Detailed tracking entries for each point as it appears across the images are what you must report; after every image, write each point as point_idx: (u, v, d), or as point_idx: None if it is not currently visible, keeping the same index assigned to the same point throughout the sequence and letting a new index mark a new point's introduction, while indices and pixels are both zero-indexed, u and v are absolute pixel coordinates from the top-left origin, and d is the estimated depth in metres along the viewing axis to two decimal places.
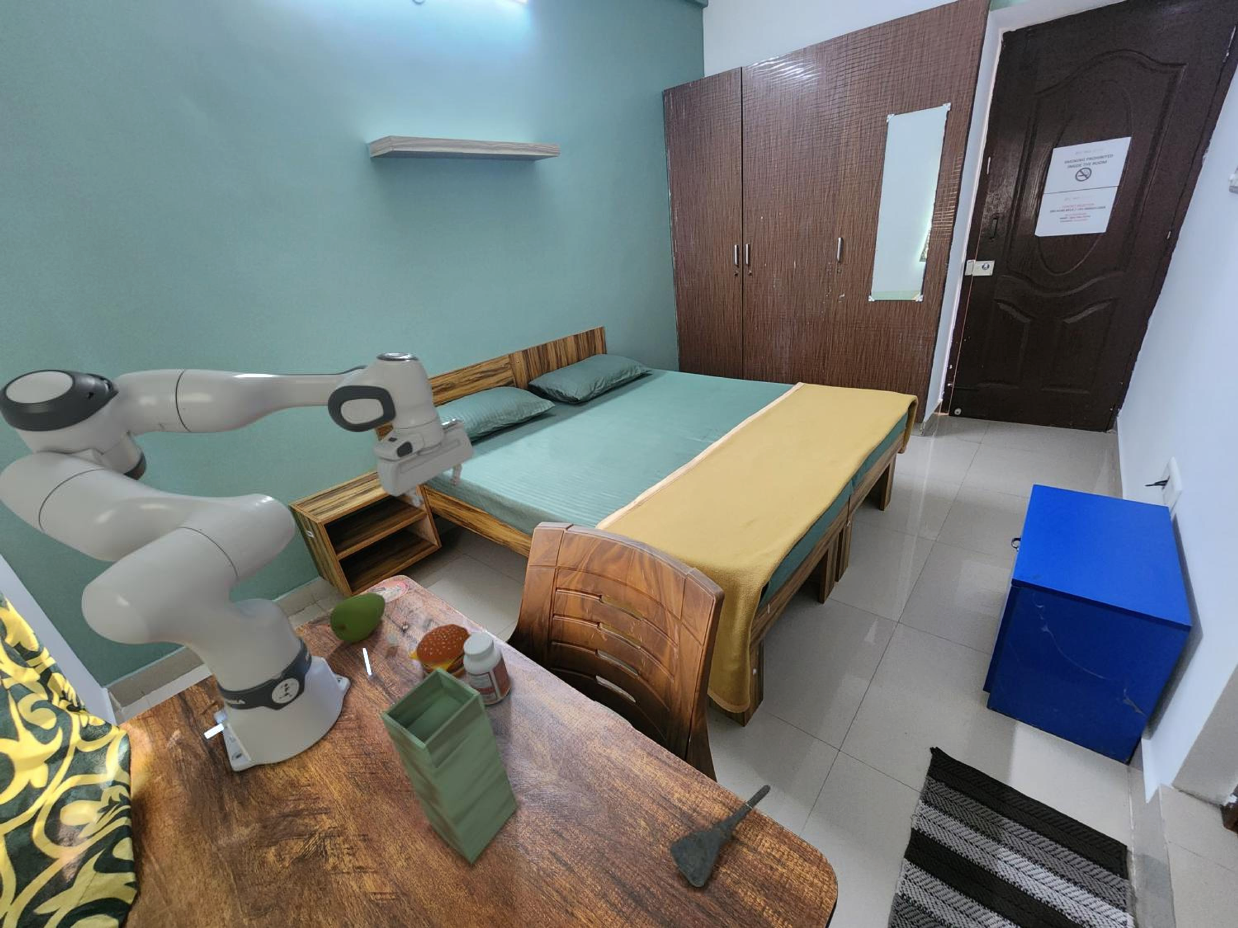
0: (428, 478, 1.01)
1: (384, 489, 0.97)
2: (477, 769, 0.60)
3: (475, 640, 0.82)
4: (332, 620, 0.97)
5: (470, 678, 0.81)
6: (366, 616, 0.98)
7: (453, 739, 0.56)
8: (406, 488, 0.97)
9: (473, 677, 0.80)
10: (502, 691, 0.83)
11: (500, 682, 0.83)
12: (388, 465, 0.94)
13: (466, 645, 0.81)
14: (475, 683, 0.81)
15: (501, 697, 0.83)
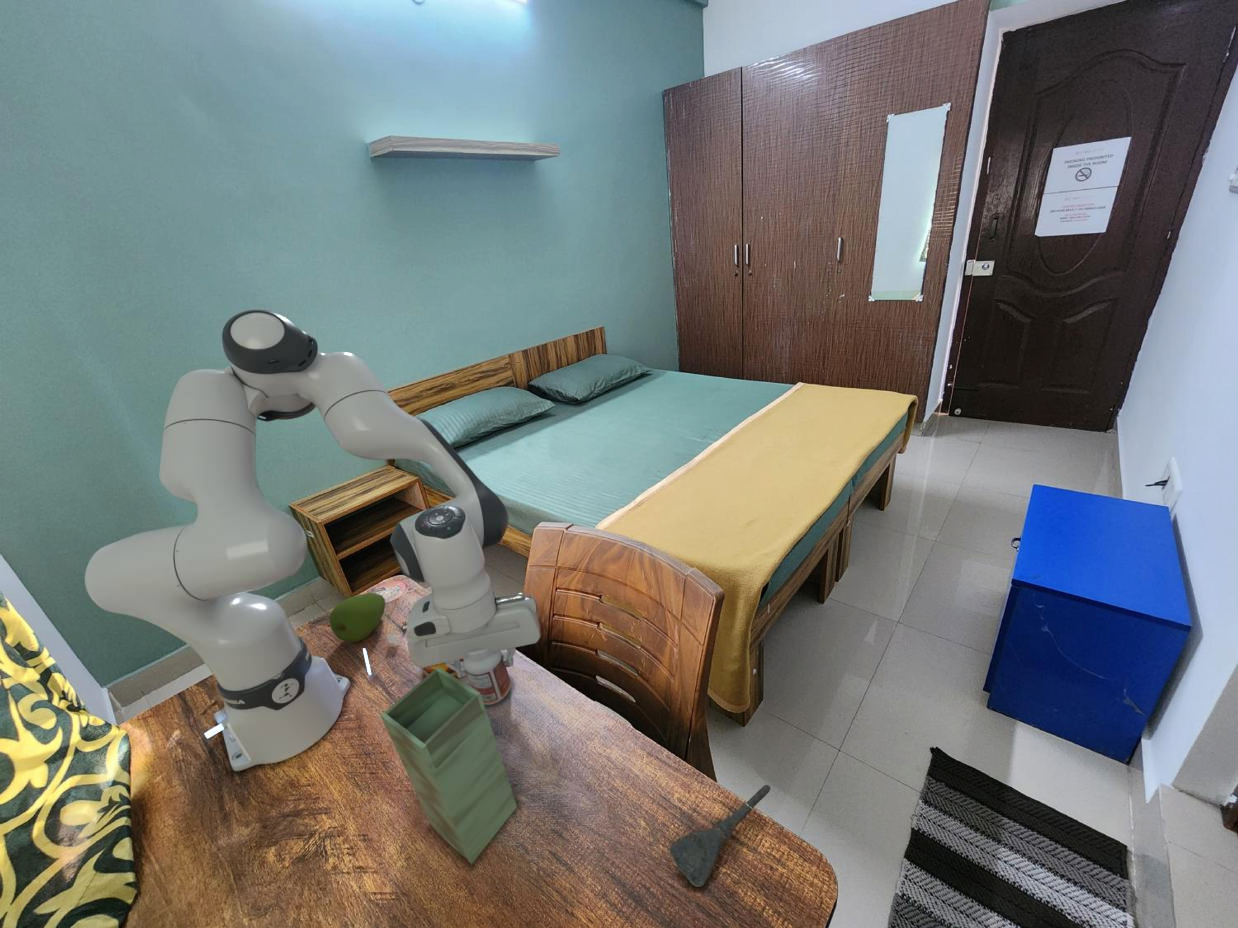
0: (464, 656, 0.80)
1: None
2: (477, 769, 0.60)
3: None
4: (332, 620, 0.97)
5: (470, 679, 0.81)
6: (366, 616, 0.98)
7: (453, 739, 0.56)
8: (431, 662, 0.79)
9: (473, 677, 0.80)
10: (502, 691, 0.83)
11: (500, 683, 0.83)
12: (409, 636, 0.76)
13: None
14: (475, 683, 0.81)
15: (501, 697, 0.83)
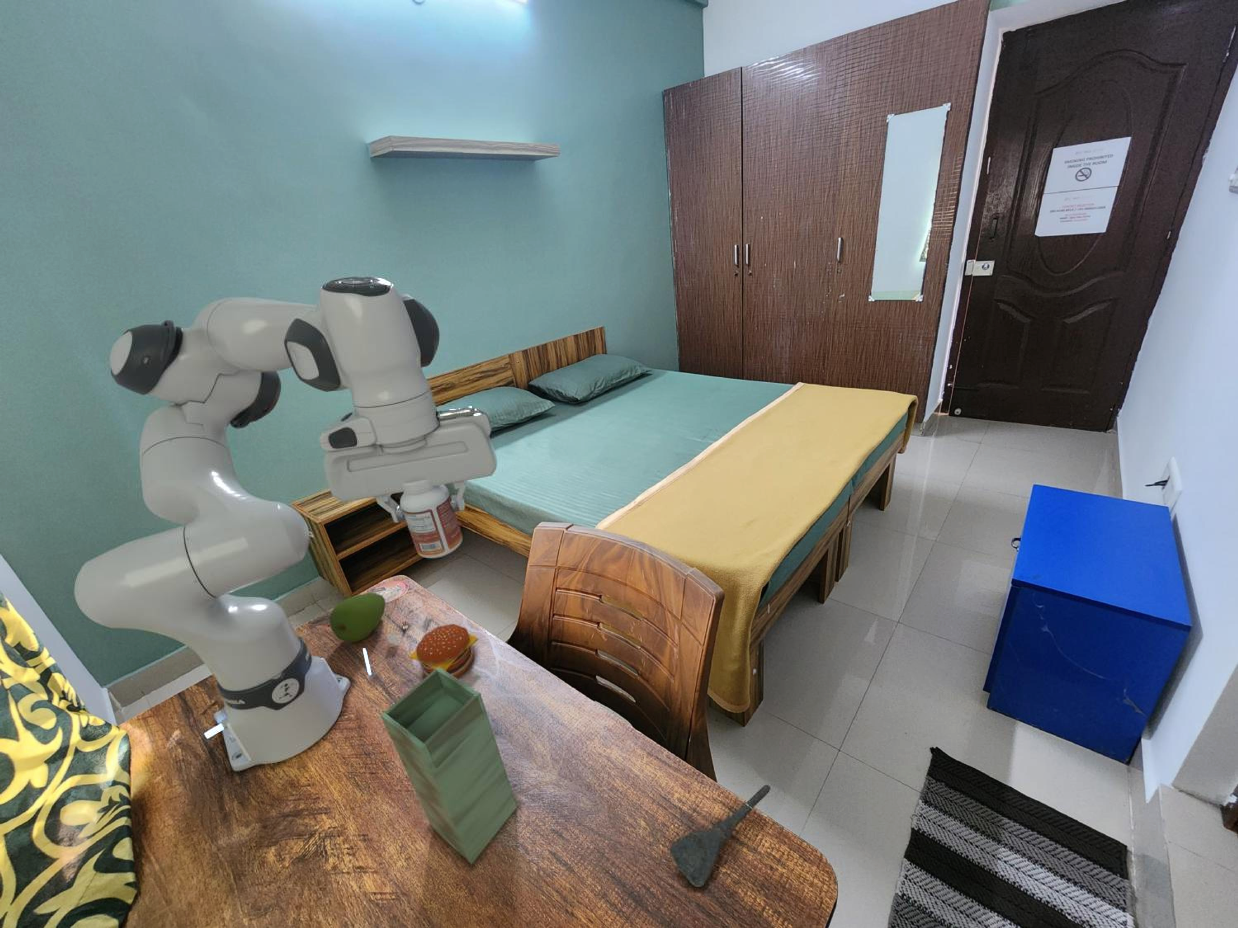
0: (399, 489, 0.63)
1: None
2: (477, 769, 0.60)
3: None
4: (332, 620, 0.97)
5: (408, 521, 0.65)
6: (366, 616, 0.98)
7: (453, 739, 0.56)
8: (357, 495, 0.62)
9: (411, 517, 0.64)
10: (450, 542, 0.67)
11: (447, 529, 0.66)
12: (325, 455, 0.60)
13: None
14: (414, 526, 0.65)
15: (449, 549, 0.67)
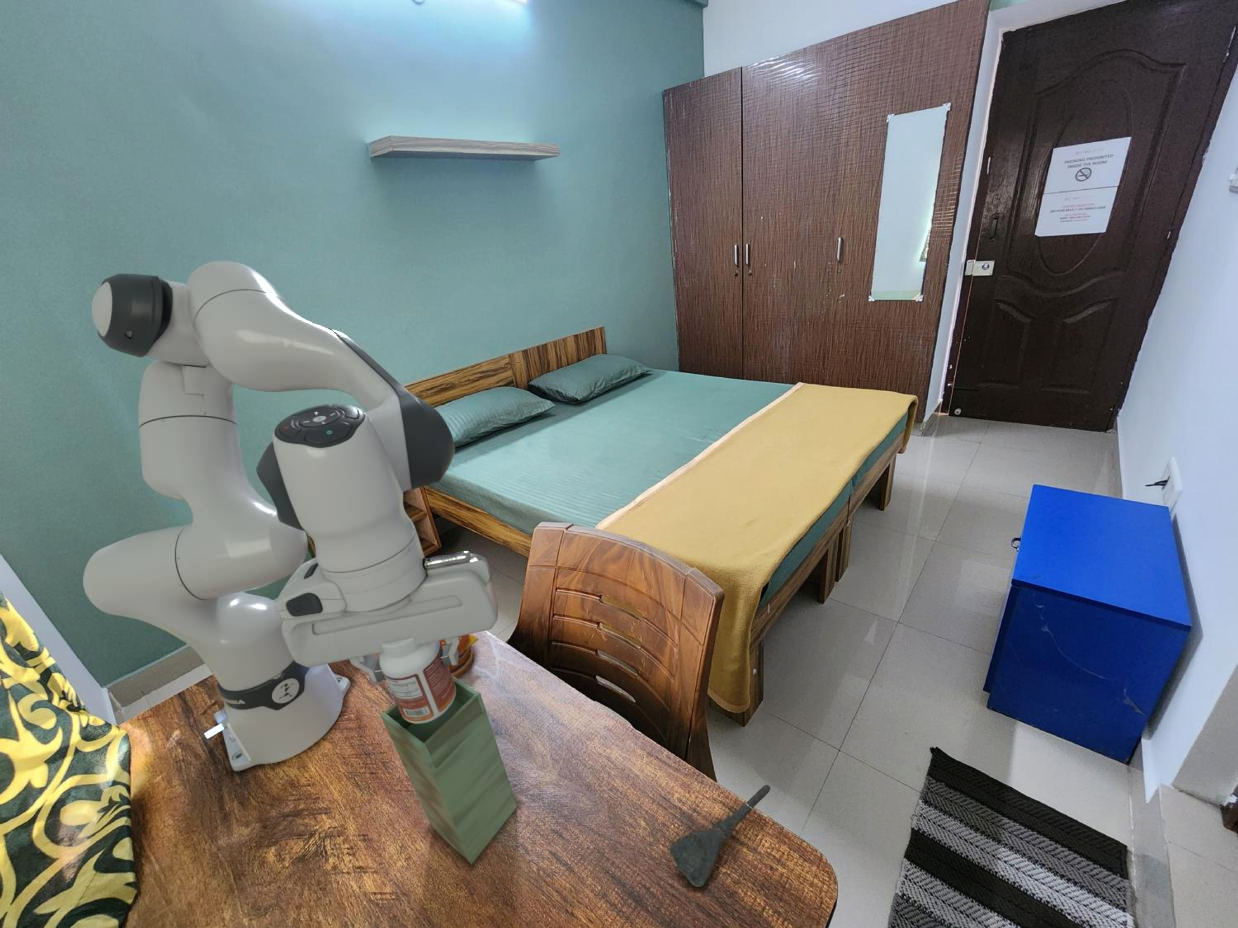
0: (378, 650, 0.51)
1: None
2: (477, 769, 0.60)
3: None
4: None
5: (389, 685, 0.53)
6: None
7: (453, 739, 0.56)
8: (325, 659, 0.51)
9: (392, 682, 0.52)
10: (440, 704, 0.55)
11: (437, 691, 0.54)
12: None
13: None
14: (396, 692, 0.53)
15: (439, 713, 0.55)
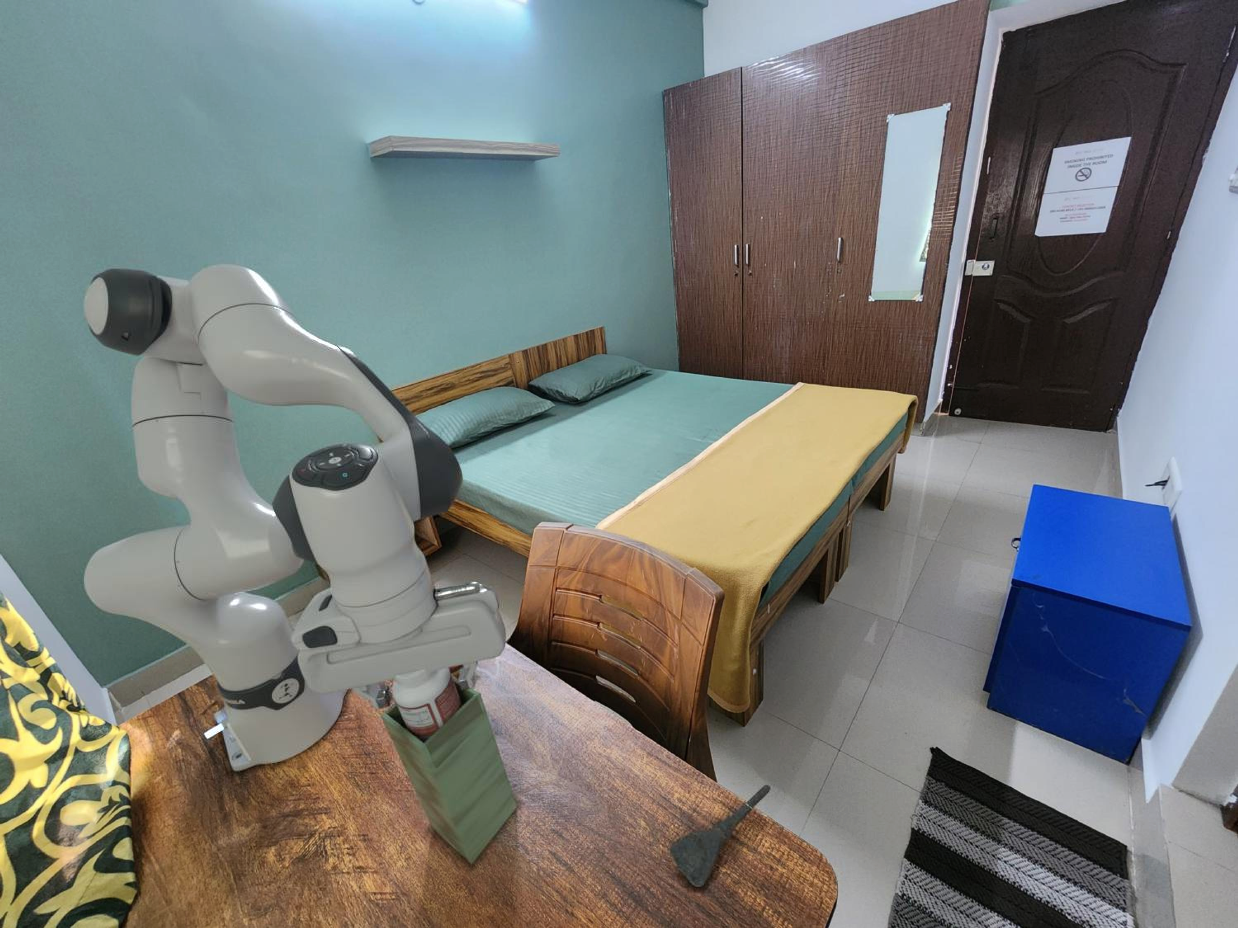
0: (390, 678, 0.53)
1: None
2: (477, 769, 0.60)
3: None
4: None
5: (402, 713, 0.55)
6: None
7: (453, 739, 0.56)
8: (339, 687, 0.52)
9: (405, 711, 0.54)
10: None
11: (447, 718, 0.56)
12: None
13: None
14: (409, 720, 0.55)
15: None
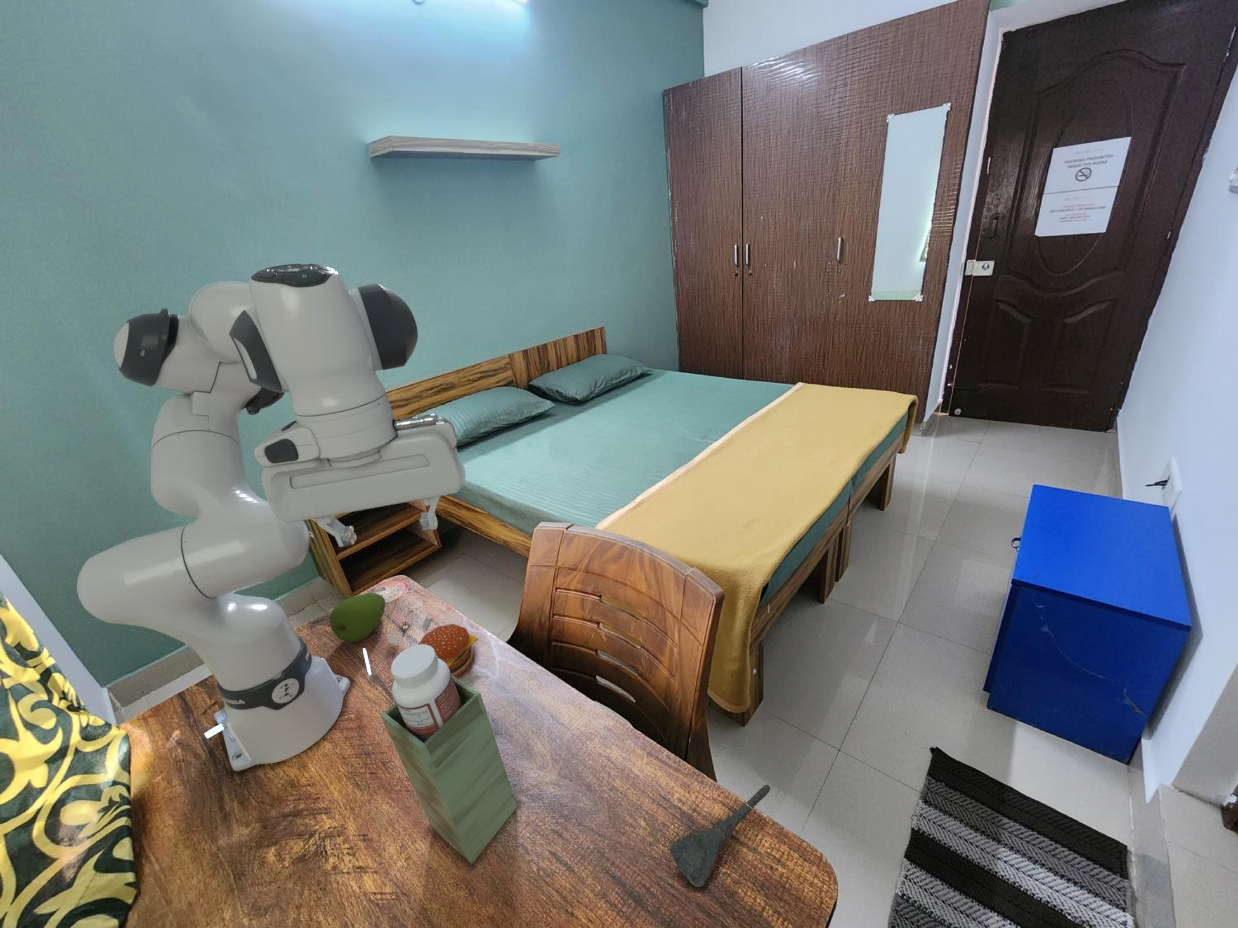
0: (352, 508, 0.55)
1: None
2: (477, 769, 0.60)
3: (410, 656, 0.55)
4: (332, 620, 0.97)
5: (402, 713, 0.55)
6: (366, 616, 0.98)
7: (453, 739, 0.56)
8: (303, 515, 0.55)
9: (405, 711, 0.54)
10: None
11: (447, 718, 0.56)
12: None
13: (395, 663, 0.55)
14: (409, 720, 0.55)
15: None
